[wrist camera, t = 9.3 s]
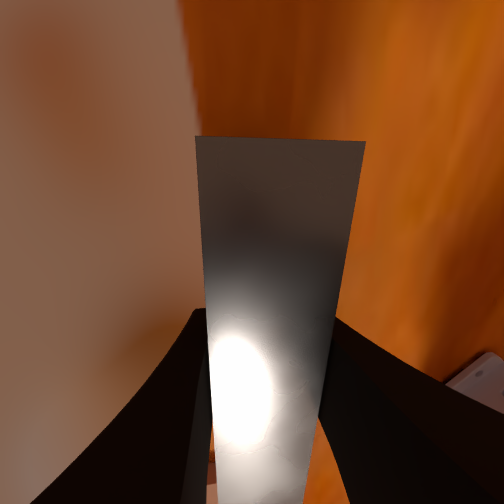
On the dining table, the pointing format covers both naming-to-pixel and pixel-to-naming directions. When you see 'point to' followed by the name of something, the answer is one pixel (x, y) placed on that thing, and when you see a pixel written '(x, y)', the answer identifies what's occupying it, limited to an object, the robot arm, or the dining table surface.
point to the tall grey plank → (271, 300)
